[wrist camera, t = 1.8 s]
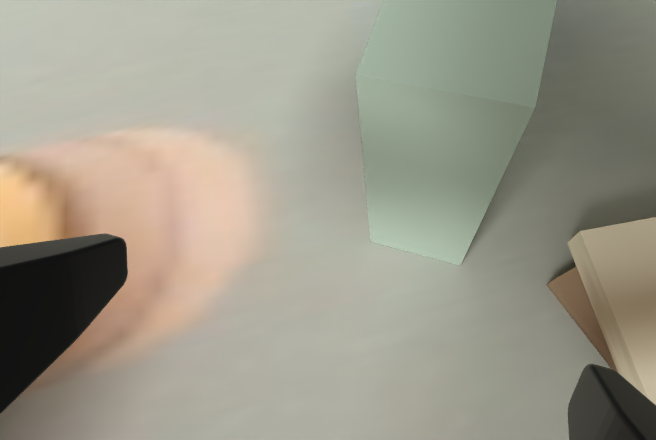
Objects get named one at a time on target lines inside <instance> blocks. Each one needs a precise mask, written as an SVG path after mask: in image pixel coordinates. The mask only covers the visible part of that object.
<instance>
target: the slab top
mask: <svg viewBox="0 0 656 440" xmlns="http://www.w3.org/2000/svg"><path fill="white" fill-rule="evenodd" d="M567 244H568V246H569V249H570V251H571V254H572V256H573V259H574V262H575V264H576V267H577V269H578V272H579V274H580V277H581V279H582V282H583V284H584V287H585V290H586V292H587V295H588V297H589V300H590V302H591V305H592V307H593V310H594V313H595V315H596V318H597V320H598V323H599V325H600V328H601V330H602V333H603V336H604V338H605V341H606V343H607V346H608V348H609V351H610V353H611V356H612V358H613V361H614V364H615V366H616V369H617V371H618V373H619V374H620V375H621V376H622V377H624V378H625V379H626V380H627V381H628V382H629V383H631V384H632V385H633V386H634V387H635V388H636V389H637V390H639V391H640V392H641V393H642V394H643V395H644V396H646V397H647V398H648V399H649V400H650V401H651V402H653V403H654V404H655V405H656V217H653V218H647V219H642V220H637V221H631V222H626V223H620V224H615V225H610V226H604V227H599V228H593V229H588V230H583V231H579V232H578V233H577V234H576V235H575V236H574V237H573V238H572V239H571V240H570V241H569V242H568V243H567Z"/></svg>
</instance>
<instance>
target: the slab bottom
mask: <svg viewBox="0 0 656 440" xmlns="http://www.w3.org/2000/svg"><path fill="white" fill-rule="evenodd" d="M547 286H548V287H549V288H550V290H551V291H552V292H553V294H554V295H555V296H556V297H557V299H558V300H559V301H560V303H561V304H562V305H563V306H564V308H565V309H566V310H567V312H568V313H569V314H570V316H571V317H572V318H573V319H574V321H575V322H576V323H577V325H578V326H579V327H580V328H581V330H582V331H583V332H584V334H585V335H586V336H587V338H588V339H589V340H590V341H591V343H592V344H593V345H594V347H595V348H596V349H597V350H598V352H599V353H600V354H601V356H602V357H603V358H604V360H605V361H606V362H607V363H608V365H609V366H610V367H611V369H612V370H615V371H616V372H618V371H617V369H616V366H615V364H614V361H613V358H612V356H611V353H610V351H609V348H608V346H607V343H606V341H605V338H604V336H603V333H602V330H601V328H600V325H599V323H598V320H597V318H596V315H595V313H594V310H593V307H592V305H591V302H590V300H589V297H588V295H587V292H586V290H585V287H584V284H583V282H582V279H581V277H580V274H579V272H578V269H577V267H574V268H573V269H571V270H569V271H568V272H566V273H564V274H562V275H561V276H559V277H557V278H555V279H554V280H552V281H551V282H550V283H549V284H547Z"/></svg>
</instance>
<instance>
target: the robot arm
mask: <svg viewBox="0 0 656 440" xmlns="http://www.w3.org/2000/svg"><path fill="white" fill-rule="evenodd" d="M127 274H128V269H127V247H126V243H125V241H124V240H123V239H122V238H120V237H117V236H113V235H110V234H98V235H90V236H83V237H75V238H68V239H60V240H53V241H46V242H38V243H31V244H23V245H16V246H8V247H1V248H0V414H1V413H2V412H3V411H4V410H5V409H6V408H7V407H8V406H9V405H10V404H11V403H12V402H13V401H14V400H15V399H16V398H17V397H18V396H19V395H20V394H21V393H22V392H23V391H24V390H25V389H26V388H28V387H29V386H30V385H31V384H32V383H33V382H34V381H35V380H36V379H37V378H38V377H39V376H40V375H41V374H42V373H43V372H44V371H45V370H46V369H47V368H48V367H49V366H50V365H51V364H52V363H53V362H54V361H55V360H56V359H57V358H58V357H59V356H60V355H61V354H62V353H63V352H64V351H66V350H67V349H68V348H69V347H70V346H71V345H72V344H73V343H74V341H75V340H76V339H77V338H78V337H79V336H80V335H81V334H82V333H83V332H84V331H85V329H86V328H87V327H88V326H89V325H90V324H91V322H92V321H93V320H94V319H95V318H96V317H97V315H98V314H99V313H100V312H101V311H102V309H103V308H104V307H105V306H106V305H107V304H108V302H109V301H110V300H111V299H112V298H113V297H114V295H115V294H116V293H117V292H118V291H119V289H120V288H121V287H122V286H123V285H124V283H125V281H126V278H127ZM568 425H569V440H656V405H655V404H654V403H653V402H651V401H650V400H649V399H648V398H647V397H646V396H644V395H643V394H642V393H641V392H640V391H639V390H637V389H636V388H635V387H634V386H633V385H632V384H631V383H629V382H628V381H627V380H626V379H625V378H624V377H622V376H621V375H620V374H619V373H618V372H616V371H615V370H612V369H609V368H605V367H602V366H598V365H594V364H589V365H587V366H586V367H585V368H584V369H583V371H582V374H581V376H580V378H579V381H578V383H577V385H576V388H575V390H574V393H573V395H572V397H571V400H570V403H569V407H568Z"/></svg>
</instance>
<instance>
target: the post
mask: <svg viewBox="0 0 656 440" xmlns="http://www.w3.org/2000/svg"><path fill="white" fill-rule="evenodd" d="M556 4H557V0H383V2H382V5H381V8H380V10H379V13H378V15H377V18H376V21H375V23H374V26H373V29H372V31H371V34H370V37H369V39H368V42H367V45H366V47H365V50H364V53H363V55H362V58H361V61H360V63H359V66H358V69H357V71H356V74H355V76H356V87H357V98H358V109H359V120H360V131H361V142H362V153H363V164H364V175H365V186H366V197H367V208H368V219H369V230H370V241H371V242H374V243H377V244H381V245H385V246H388V247H392V248H396V249H400V250H403V251H407V252H411V253H415V254H418V255H422V256H426V257H430V258H433V259H437V260H441V261H444V262H448V263H452V264H456V265H459V266H460V265H461V263H462V261H463V259H464V257H465V255H466V253H467V251H468V248H469V246H470V244H471V242H472V240H473V238H474V236H475V234H476V232H477V230H478V227H479V225H480V223H481V221H482V219H483V217H484V215H485V213H486V211H487V209H488V206H489V204H490V202H491V200H492V198H493V196H494V194H495V192H496V190H497V188H498V185H499V183H500V181H501V179H502V177H503V175H504V173H505V171H506V169H507V167H508V164H509V162H510V160H511V158H512V156H513V154H514V152H515V150H516V148H517V146H518V143H519V141H520V139H521V137H522V135H523V133H524V131H525V129H526V127H527V125H528V122H529V120H530V118H531V116H532V114H533V112H534V110H535V108H536V103H537V98H538V93H539V88H540V83H541V78H542V73H543V68H544V63H545V58H546V53H547V48H548V43H549V39H550V34H551V29H552V24H553V19H554V14H555V9H556Z"/></svg>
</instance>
